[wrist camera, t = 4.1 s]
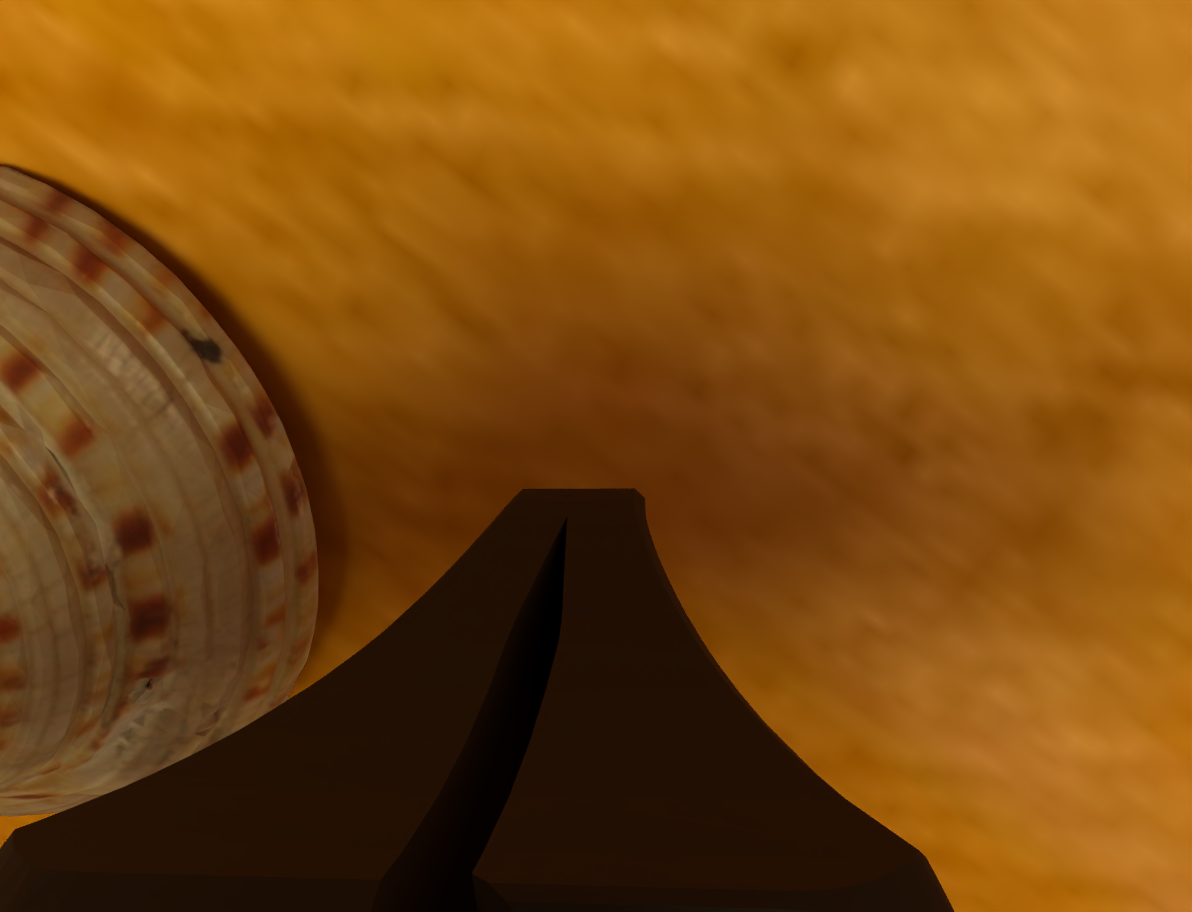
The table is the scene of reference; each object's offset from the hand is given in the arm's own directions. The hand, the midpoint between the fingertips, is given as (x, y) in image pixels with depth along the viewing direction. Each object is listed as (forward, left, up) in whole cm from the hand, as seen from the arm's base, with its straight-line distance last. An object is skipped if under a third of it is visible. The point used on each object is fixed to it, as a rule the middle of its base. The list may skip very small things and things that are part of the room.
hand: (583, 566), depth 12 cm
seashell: (0, +7, -2) cm, 8 cm away
